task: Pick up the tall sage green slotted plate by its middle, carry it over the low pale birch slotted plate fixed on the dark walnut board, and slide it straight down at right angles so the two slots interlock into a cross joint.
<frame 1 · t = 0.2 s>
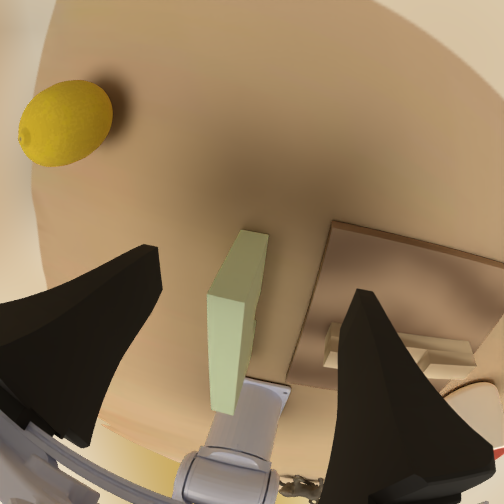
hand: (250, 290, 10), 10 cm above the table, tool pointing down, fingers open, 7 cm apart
dog figurine: (301, 476, 54), on the table
lemon: (106, 110, 18), on the table
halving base: (402, 333, 22), on the table
cup: (463, 397, 27), on the table
slotted plate: (246, 304, 24), on the table
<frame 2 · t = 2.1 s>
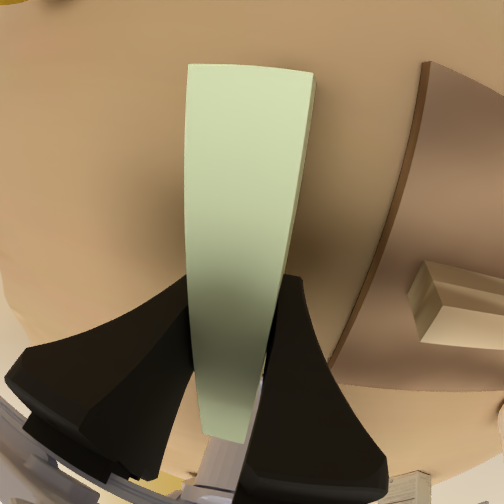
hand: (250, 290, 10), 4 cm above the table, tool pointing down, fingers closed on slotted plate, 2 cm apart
supplement box: (406, 476, 31), on the table
die: (207, 477, 47), on the table
slotted plate: (269, 236, 13), on the table, touching gripper
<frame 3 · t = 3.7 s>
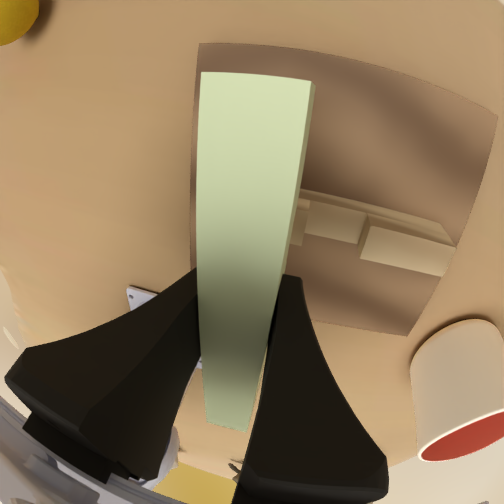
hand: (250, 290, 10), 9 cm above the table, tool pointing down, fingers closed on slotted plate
lemon: (39, 15, 13), on the table
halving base: (333, 205, 18), on the table
die: (165, 441, 53), on the table
cup: (453, 348, 22), on the table
slotted plate: (271, 230, 14), point 5 cm above the table, touching gripper
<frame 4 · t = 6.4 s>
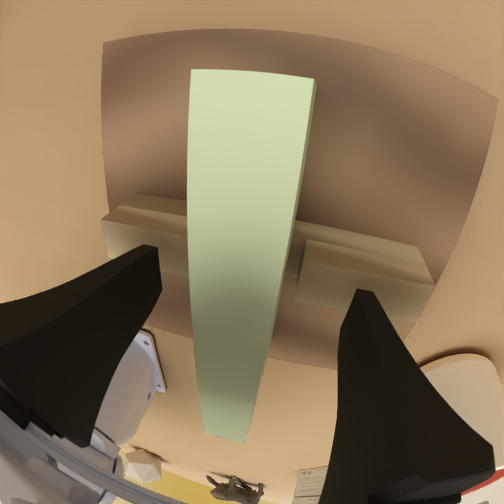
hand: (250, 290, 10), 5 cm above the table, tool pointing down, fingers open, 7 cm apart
dog figurine: (238, 478, 46), on the table
supplement box: (330, 470, 34), on the table
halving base: (273, 225, 14), on the table
die: (148, 452, 50), on the table
cup: (440, 382, 19), on the table
slotted plate: (270, 236, 14), point 1 cm above the table, touching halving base
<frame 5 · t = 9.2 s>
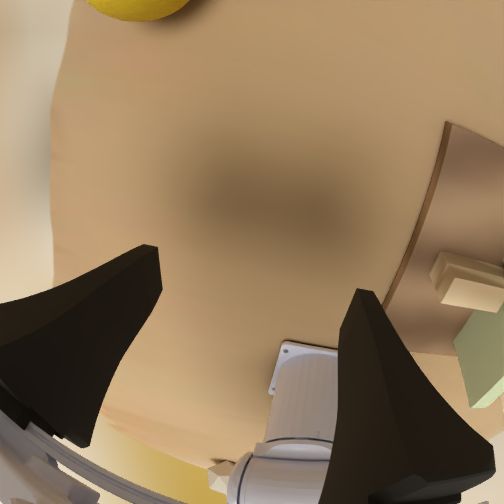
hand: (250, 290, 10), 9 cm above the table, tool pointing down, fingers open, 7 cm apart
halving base: (496, 271, 17), on the table
die: (231, 463, 53), on the table
slotted plate: (501, 280, 16), point 1 cm above the table, touching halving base
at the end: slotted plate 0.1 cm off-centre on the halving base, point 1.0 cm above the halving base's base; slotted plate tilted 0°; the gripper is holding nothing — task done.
